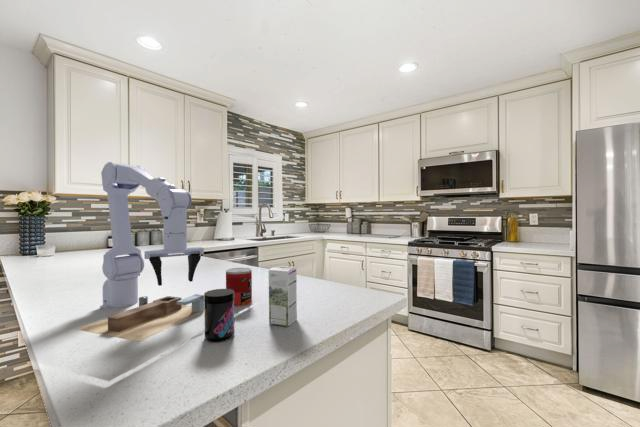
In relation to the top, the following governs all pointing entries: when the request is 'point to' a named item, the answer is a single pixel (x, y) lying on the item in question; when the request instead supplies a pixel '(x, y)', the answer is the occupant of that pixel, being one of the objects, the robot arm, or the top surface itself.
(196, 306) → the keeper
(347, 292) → the top surface
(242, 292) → the canned food
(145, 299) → the post
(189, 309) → the board
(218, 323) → the supplement container
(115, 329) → the link
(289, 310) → the syrup box
